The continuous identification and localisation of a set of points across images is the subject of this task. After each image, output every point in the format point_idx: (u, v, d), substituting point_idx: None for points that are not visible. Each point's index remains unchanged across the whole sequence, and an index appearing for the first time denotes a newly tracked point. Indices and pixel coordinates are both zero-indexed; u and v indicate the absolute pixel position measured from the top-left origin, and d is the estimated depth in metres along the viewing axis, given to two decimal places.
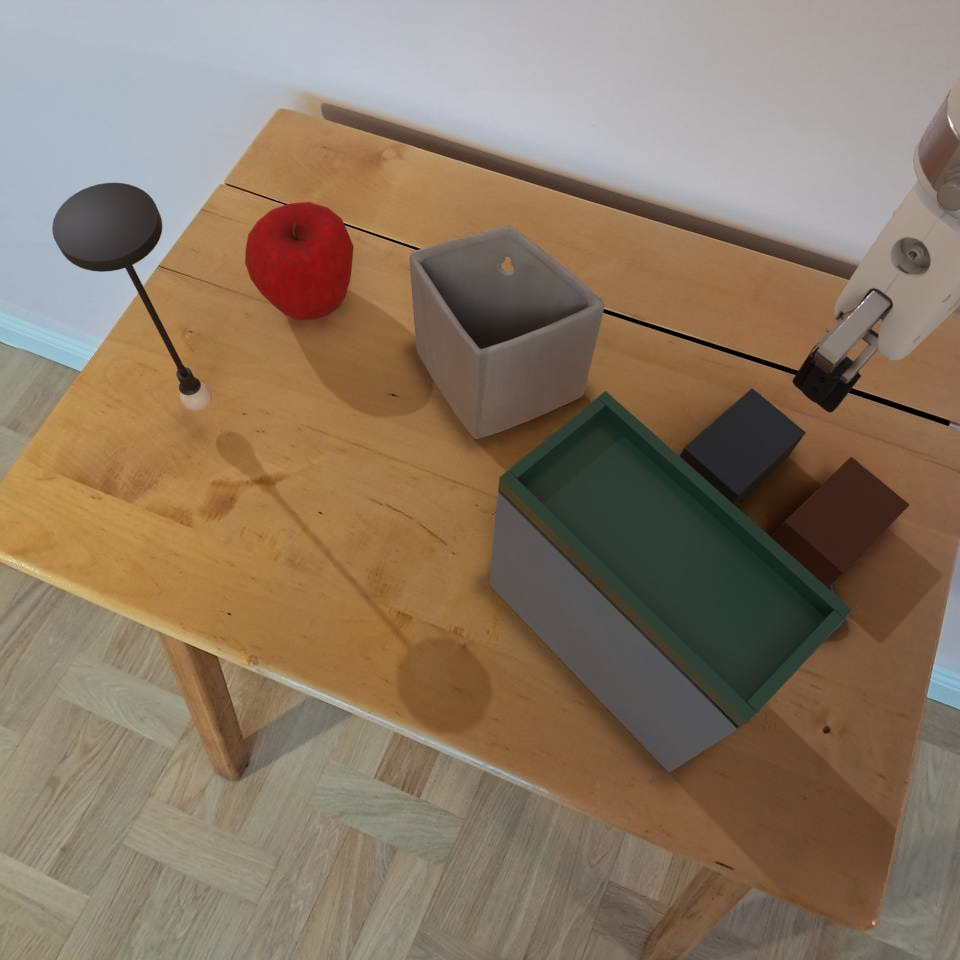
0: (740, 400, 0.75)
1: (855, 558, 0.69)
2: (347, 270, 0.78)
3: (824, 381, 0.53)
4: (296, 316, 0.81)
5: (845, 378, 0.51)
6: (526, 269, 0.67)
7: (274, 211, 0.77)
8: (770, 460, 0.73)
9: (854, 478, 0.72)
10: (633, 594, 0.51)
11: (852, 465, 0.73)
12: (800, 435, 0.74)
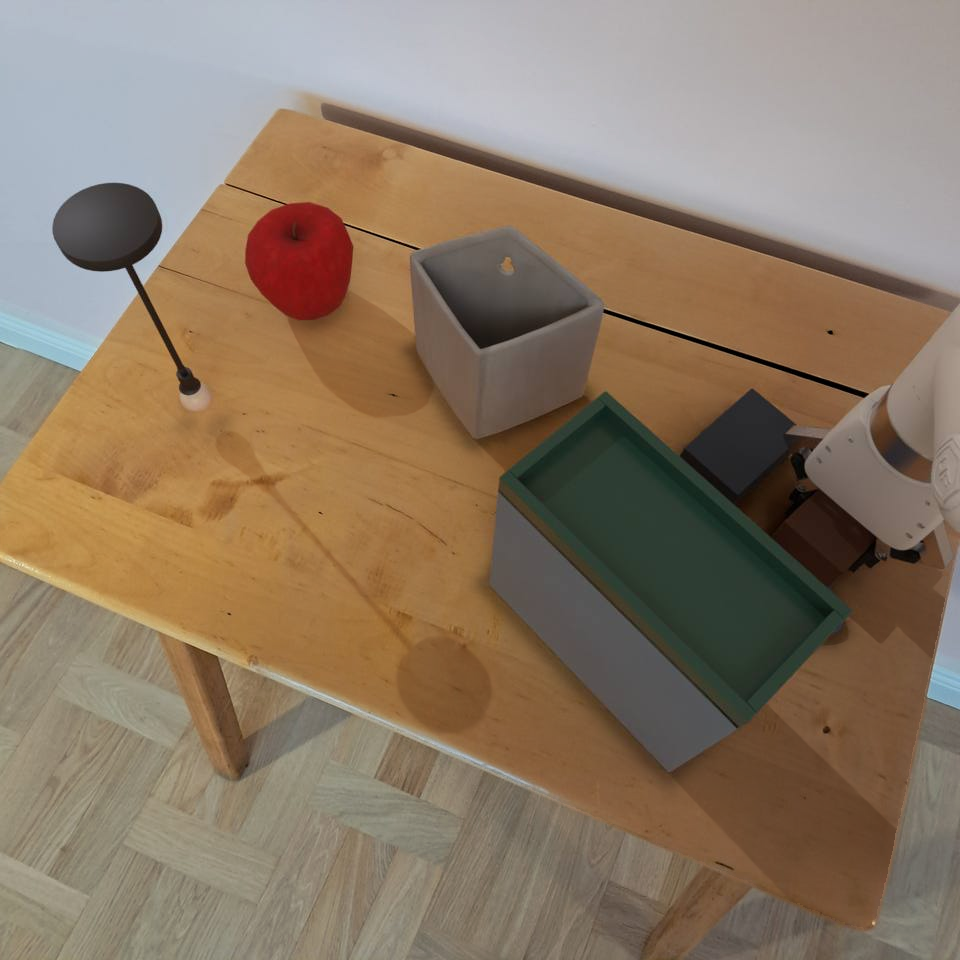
0: (740, 400, 0.75)
1: (855, 558, 0.69)
2: (347, 270, 0.78)
3: None
4: (296, 316, 0.81)
5: None
6: (526, 269, 0.67)
7: (274, 211, 0.77)
8: (770, 460, 0.73)
9: None
10: (633, 594, 0.51)
11: None
12: None
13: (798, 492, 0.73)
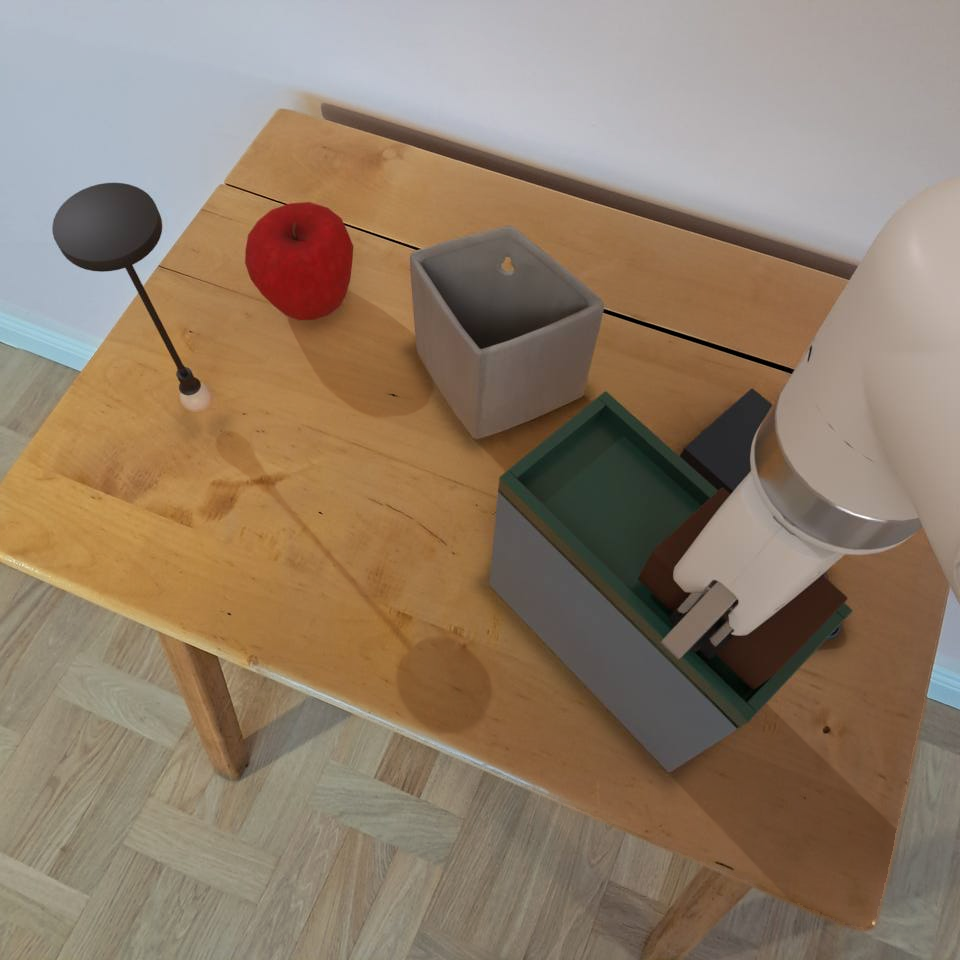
0: (740, 400, 0.75)
1: (821, 576, 0.48)
2: (347, 270, 0.78)
3: None
4: (296, 316, 0.81)
5: None
6: (526, 269, 0.67)
7: (274, 211, 0.77)
8: None
9: None
10: (633, 594, 0.51)
11: (668, 552, 0.48)
12: None
13: None
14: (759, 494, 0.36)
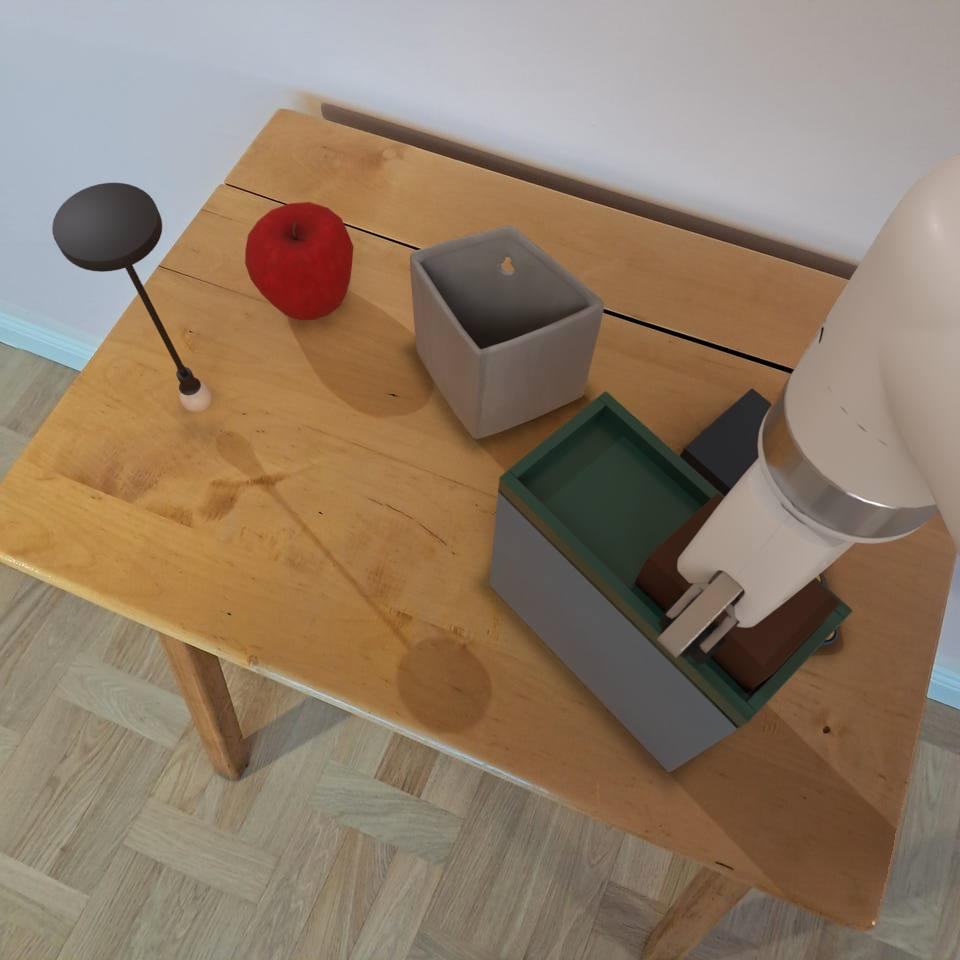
0: (740, 400, 0.75)
1: (815, 582, 0.48)
2: (347, 270, 0.78)
3: None
4: (296, 316, 0.81)
5: None
6: (526, 269, 0.67)
7: (274, 211, 0.77)
8: None
9: None
10: (633, 594, 0.51)
11: (664, 557, 0.49)
12: None
13: None
14: (767, 481, 0.35)
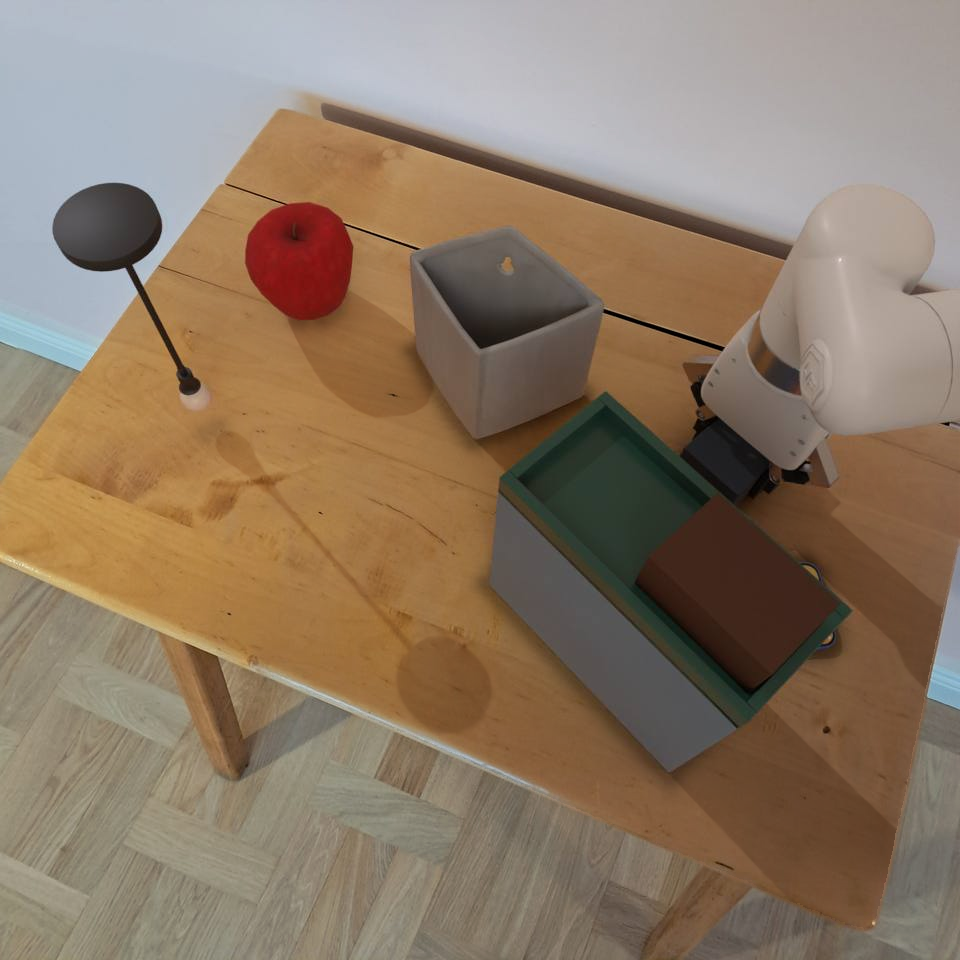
0: None
1: (815, 582, 0.48)
2: (347, 270, 0.78)
3: None
4: (296, 316, 0.81)
5: None
6: (526, 269, 0.67)
7: (274, 211, 0.77)
8: None
9: (685, 558, 0.49)
10: (633, 594, 0.51)
11: (664, 557, 0.49)
12: None
13: (700, 422, 0.76)
14: None
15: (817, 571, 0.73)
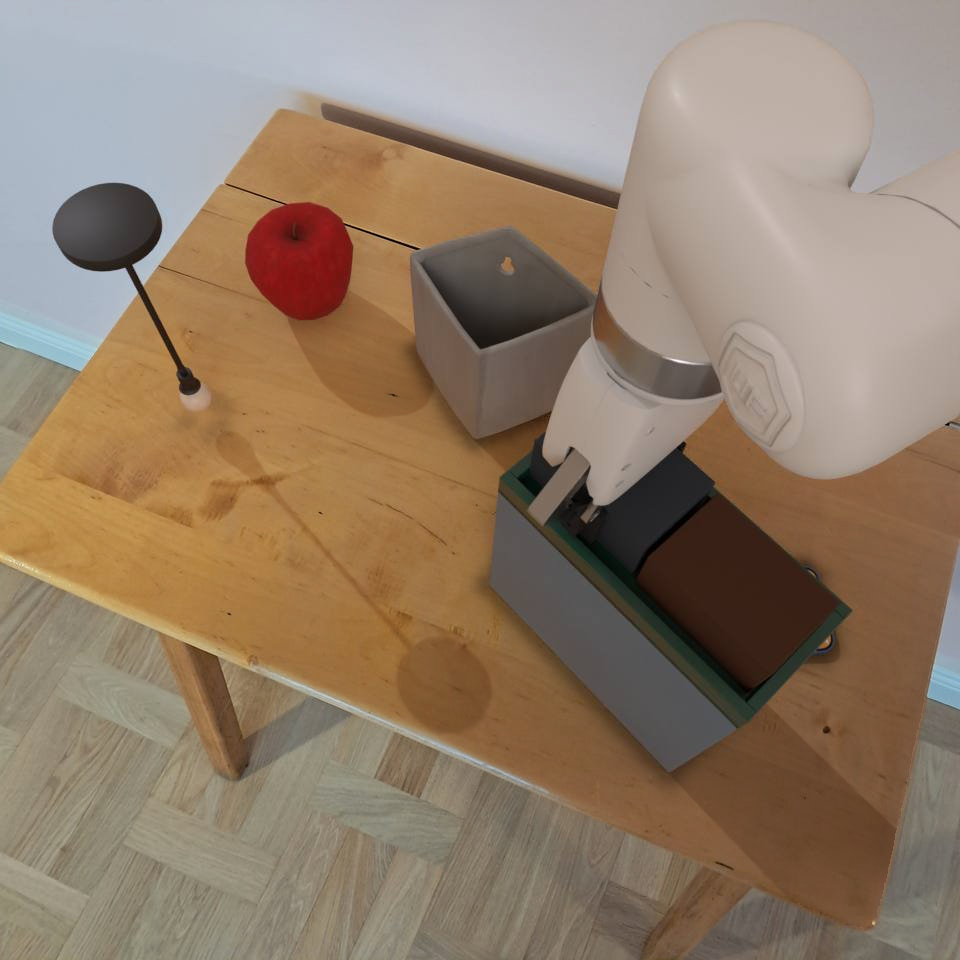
0: None
1: (815, 582, 0.48)
2: (347, 270, 0.78)
3: None
4: (296, 316, 0.81)
5: None
6: (526, 269, 0.67)
7: (274, 211, 0.77)
8: None
9: (685, 558, 0.49)
10: (633, 594, 0.51)
11: (664, 557, 0.49)
12: None
13: None
14: (596, 354, 0.39)
15: (816, 575, 0.72)
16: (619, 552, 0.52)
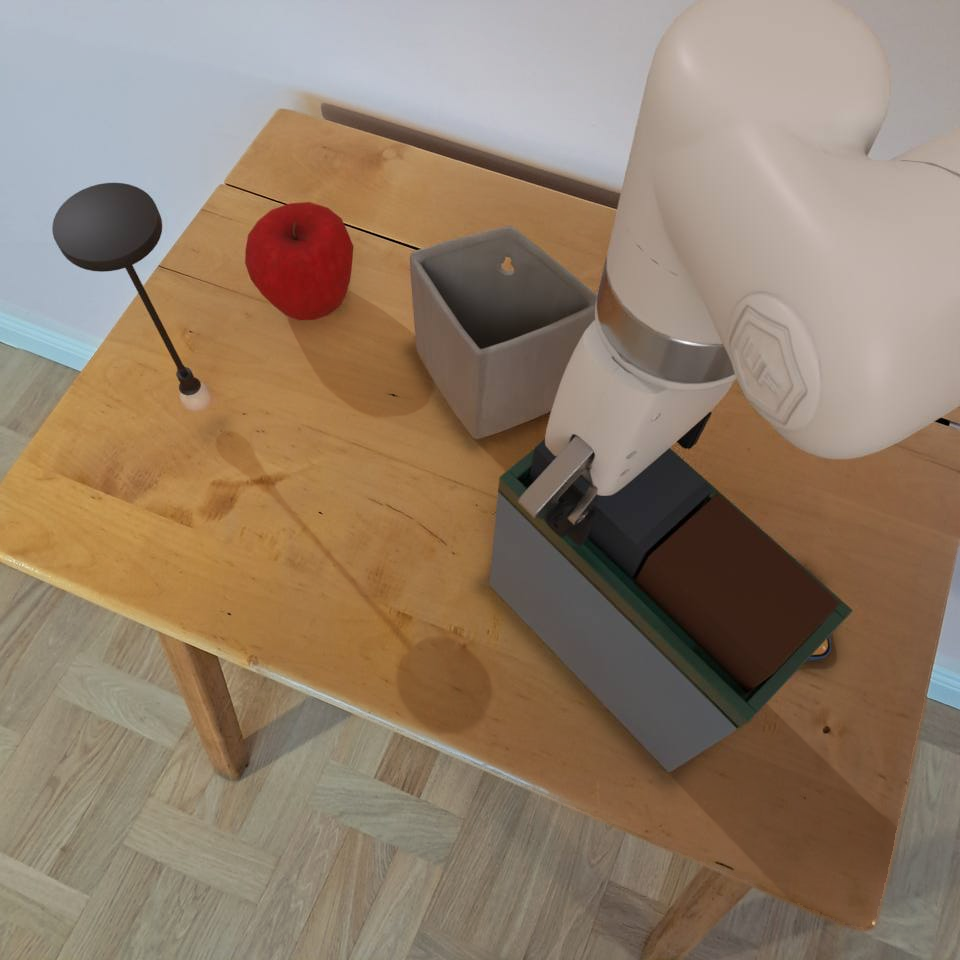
0: None
1: (815, 582, 0.48)
2: (347, 270, 0.78)
3: None
4: (296, 316, 0.81)
5: None
6: (526, 269, 0.67)
7: (274, 211, 0.77)
8: None
9: (685, 558, 0.49)
10: (633, 594, 0.51)
11: (664, 557, 0.49)
12: None
13: None
14: (600, 337, 0.38)
15: None
16: (618, 558, 0.52)
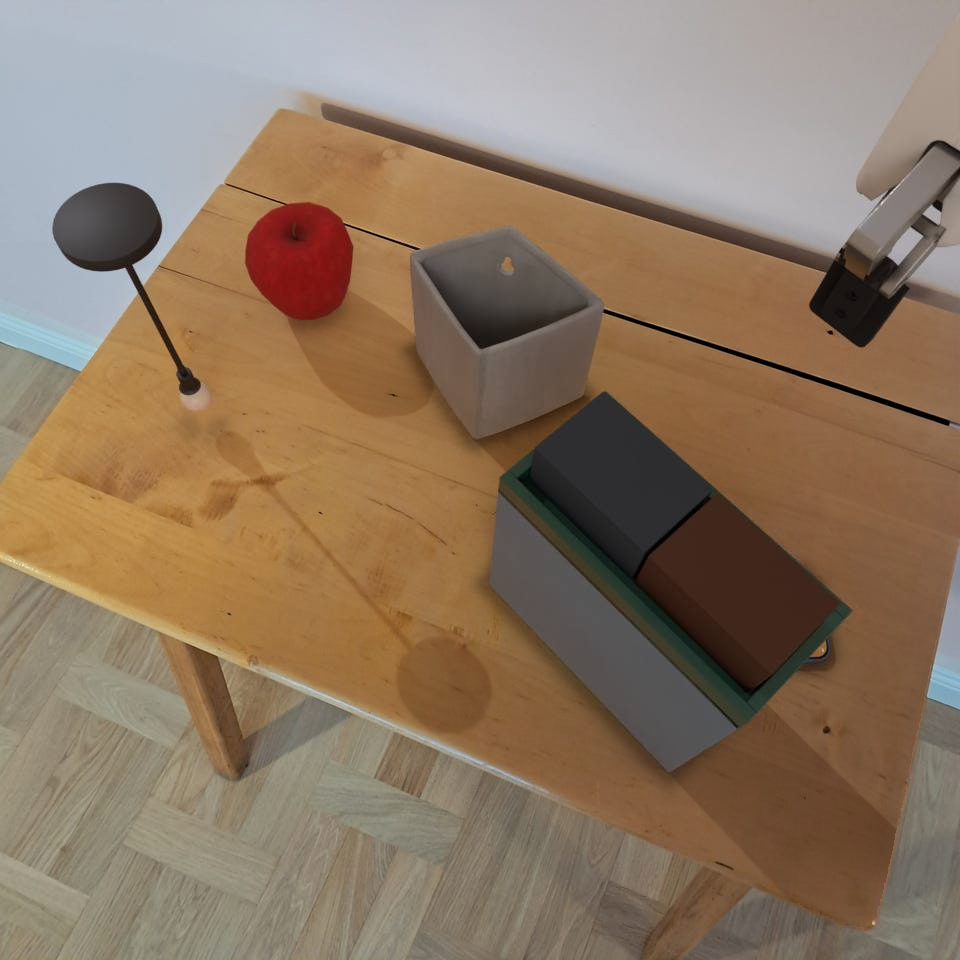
0: (557, 465, 0.51)
1: (815, 582, 0.48)
2: (347, 270, 0.78)
3: None
4: (296, 316, 0.81)
5: None
6: (526, 269, 0.67)
7: (274, 211, 0.77)
8: (652, 440, 0.52)
9: (685, 558, 0.49)
10: (633, 594, 0.51)
11: (664, 557, 0.49)
12: (609, 398, 0.53)
13: (872, 302, 0.37)
14: None
15: None
16: (618, 558, 0.52)
